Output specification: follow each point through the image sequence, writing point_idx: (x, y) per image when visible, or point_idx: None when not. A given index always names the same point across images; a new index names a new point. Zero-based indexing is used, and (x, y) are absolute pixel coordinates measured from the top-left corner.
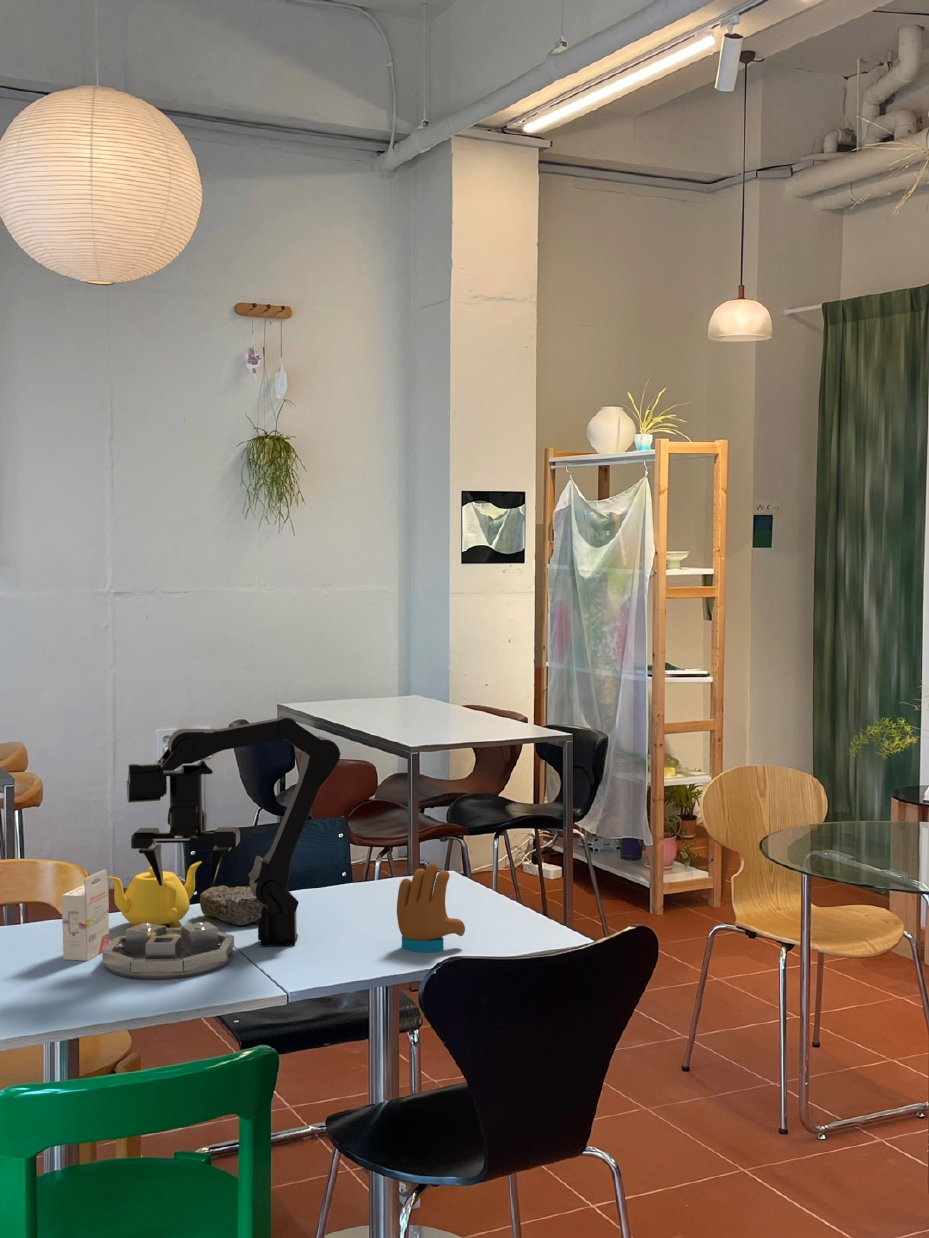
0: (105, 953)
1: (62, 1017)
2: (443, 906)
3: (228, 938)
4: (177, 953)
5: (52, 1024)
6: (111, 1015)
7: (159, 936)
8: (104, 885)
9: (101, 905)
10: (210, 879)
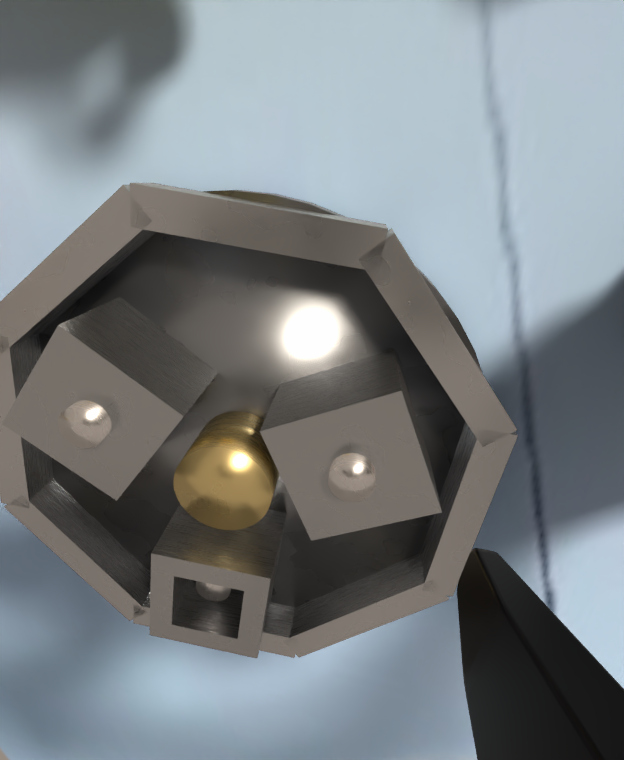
0: (20, 518)
1: (74, 735)
2: None
3: (484, 462)
4: (272, 585)
5: (69, 756)
6: (168, 752)
7: (183, 563)
8: None
9: None
10: (464, 657)
